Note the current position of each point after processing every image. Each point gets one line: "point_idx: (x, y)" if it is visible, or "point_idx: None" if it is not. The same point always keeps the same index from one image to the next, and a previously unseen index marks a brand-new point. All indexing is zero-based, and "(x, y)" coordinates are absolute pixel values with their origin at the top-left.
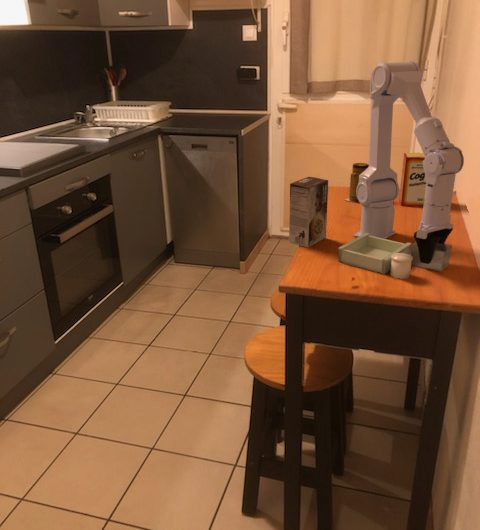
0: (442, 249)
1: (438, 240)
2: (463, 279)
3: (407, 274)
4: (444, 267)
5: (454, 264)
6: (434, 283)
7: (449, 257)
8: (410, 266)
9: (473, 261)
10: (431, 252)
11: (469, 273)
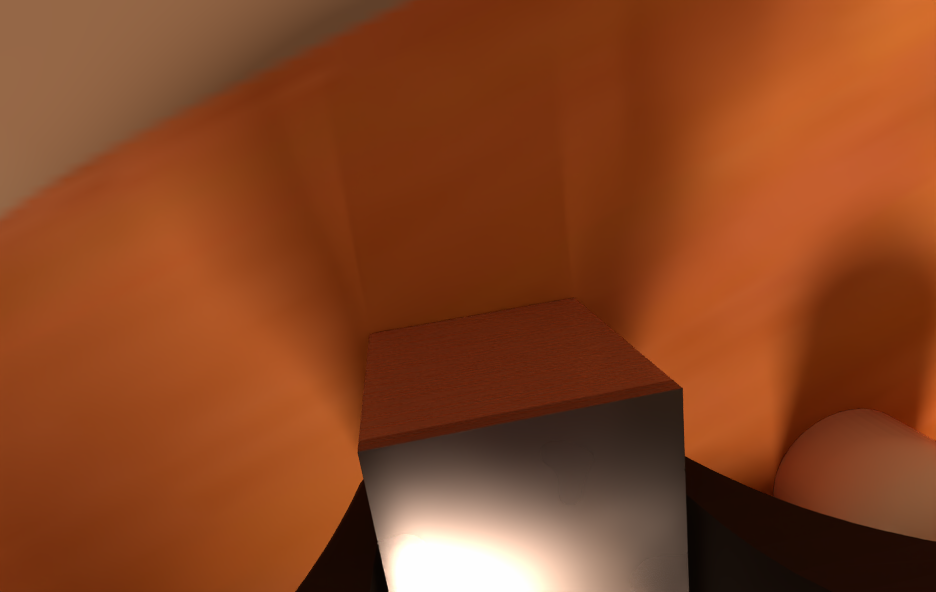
0: (621, 446)
1: (891, 577)
2: (595, 52)
3: (901, 426)
4: (497, 318)
5: (296, 310)
6: (841, 207)
7: (383, 368)
8: (925, 467)
9: (32, 212)
10: (747, 489)
11: (402, 79)
